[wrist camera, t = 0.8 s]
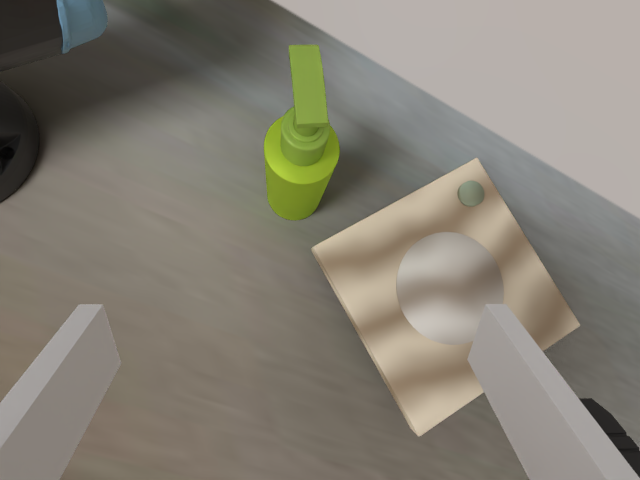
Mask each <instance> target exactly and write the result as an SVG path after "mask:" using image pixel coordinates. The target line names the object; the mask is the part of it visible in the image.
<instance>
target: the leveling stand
mask: <svg viewBox="0 0 640 480" xmlns="http://www.w3.org/2000/svg"><path fill="white" fill-rule="evenodd" d="M311 251H312V252H313V254H314V256H315V258H316V260H317V261H318V263H319V265H320V267H321V268H322V270H323V272H324V274H325V276H326V277H327V279H328V281H329V283H330V285H331V286H332V288H333V290H334V292H335V294H336V295H337V297H338V299H339V301H340V302H341V304H342V306H343V308H344V310H345V311H346V313H347V315H348V317H349V319H350V320H351V322H352V324H353V326H354V328H355V329H356V331H357V333H358V335H359V337H360V338H361V340H362V342H363V344H364V345H365V347H366V349H367V351H368V353H369V354H370V356H371V358H372V360H373V362H374V363H375V365H376V367H377V369H378V371H379V372H380V374H381V376H382V378H383V380H384V381H385V383H386V385H387V387H388V388H389V390H390V392H391V394H392V396H393V397H394V399H395V401H396V403H397V405H398V406H399V408H400V410H401V412H402V414H403V415H404V417H405V419H406V421H407V422H408V424H409V426H410V428H411V430H413V431H414V432H415V433H416V434H417V435H418V436H419V437H420V436H421V435H422V434H424V433H425V432H427V431H428V430H430V429H431V428H433V427H434V426H435V425H437V424H438V423H440V422H441V421H443V420H444V419H446V418H447V417H449V416H450V415H451V414H453V413H454V412H456V411H457V410H459V409H460V408H462V407H463V406H464V405H466V404H467V403H469V402H470V401H472V400H473V399H475V398H476V397H477V396H479V395H480V394H482V393H483V392H484V391H483V389H482V387H481V385H480V383H479V381H478V379H477V377H476V375H475V374H474V372H473V370H472V368H471V366H470V364H469V362H468V360H467V359H468V356H469V353H470V350H471V347H472V344H473V341H474V338H475V335H476V331H477V328H478V325H479V322H480V319H481V316H482V313H483V310H484V307H485V304H507V306H508V307H509V308H510V310H511V311H512V312H513V314H514V315H515V316H516V318H517V319H518V320H519V321H520V323H521V324H522V325H523V327H524V328H525V329H526V331H527V332H528V333H529V334H530V336H531V337H532V338H533V340H534V341H535V342H536V344H537V345H538V346H539V348H540V349H541V350H542V351H544V350H546V349H547V348H548V347H550V346H551V345H553V344H554V343H556V342H557V341H559V340H560V339H561V338H563V337H564V336H566V335H567V334H569V333H570V332H572V331H573V330H574V329H576V328H577V327H579V326H580V324H579V322H578V321H577V319H576V317H575V316H574V314H573V313H572V311H571V309H570V308H569V306H568V304H567V303H566V301H565V300H564V298H563V296H562V295H561V293H560V291H559V290H558V288H557V287H556V285H555V283H554V282H553V280H552V278H551V277H550V275H549V274H548V272H547V270H546V269H545V267H544V265H543V264H542V262H541V261H540V259H539V257H538V256H537V254H536V252H535V251H534V249H533V248H532V246H531V244H530V243H529V241H528V239H527V238H526V236H525V235H524V233H523V231H522V230H521V228H520V226H519V225H518V223H517V222H516V220H515V218H514V217H513V215H512V213H511V212H510V210H509V209H508V207H507V205H506V204H505V202H504V200H503V199H502V197H501V196H500V194H499V192H498V191H497V189H496V187H495V186H494V184H493V183H492V181H491V179H490V178H489V176H488V174H487V173H486V171H485V170H484V168H483V166H482V165H481V163H480V161H479V160H478V158H475V159H473V160H472V161H470V162H468V163H466V164H464V165H462V166H461V167H459V168H457V169H455V170H453V171H451V172H450V173H448V174H446V175H444V176H442V177H440V178H438V179H437V180H435V181H433V182H431V183H429V184H427V185H426V186H424V187H422V188H420V189H418V190H416V191H415V192H413V193H411V194H409V195H407V196H405V197H404V198H402V199H400V200H398V201H396V202H394V203H393V204H391V205H389V206H387V207H385V208H383V209H381V210H380V211H378V212H376V213H374V214H372V215H370V216H369V217H367V218H365V219H363V220H361V221H359V222H358V223H356V224H354V225H352V226H350V227H348V228H347V229H345V230H343V231H341V232H339V233H337V234H336V235H334V236H332V237H330V238H328V239H326V240H324V241H323V242H321V243H319V244H317V245H315V246H313V247H312V249H311Z"/></svg>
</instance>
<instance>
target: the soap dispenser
mask: <svg viewBox="0 0 640 480" xmlns="http://www.w3.org/2000/svg"><path fill="white" fill-rule="evenodd" d="M289 59H290V68H291V78H292V88H293V99H294V107H292V108H290V109H289V110H288V111H287V112H286V113H285V115H284V116H283V117H281V118H279V119H278V120H276V121H275V122H274V123H273V124H272V125H271V127H270V128H269V130H268V132H267V134H266V136H265V140H264V157H265V170H266V183H267V197H268V202H269V204H270V206H271V208H272V209H273V211H274V212H275V213H276V214H277V215H279V216H280V217H282V218H285V219H288V220H301V219H304V218H306V217H308V216H310V215H311V214H312V213H313V212H314V211H315V210H316V208H317V207H318V204H319V202H320V200H321V198H322V195H323V193H324V191H325V189H326V187H327V184H328V182H329V180H330V178H331V175H332V173H333V171H334V169H335V166H336V164H337V162H338V159H339V153H340V147H339V141H338V138H337V135H336V133H335V131H334V130H333V128H332V127H331V126H330V123H329V120H328V115H327V104H326V94H325V84H324V76H323V68H322V61H321V56H320V50H319V45H289Z"/></svg>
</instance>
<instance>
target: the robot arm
mask: <svg viewBox="0 0 640 480" xmlns="http://www.w3.org/2000/svg"><path fill="white" fill-rule="evenodd" d="M107 22H108V18H107V12H106V9H105V6H104V3H103V0H0V71H4V70H7V69H11V68H14V67H17V66H21V65H24V64H27V63H31V62H34V61H38V60H41V59H44V58H48V57H51V56H54V55H58V54H64V53H67V52H68V51H69V50H70V49H71V48H74V47H76V46H79V45H81V44H84V43H86V42H89V41H91V40H94V39H96V38H98V37H99V36H101V35H102V33H103V32H104V31H105V29H106V27H107ZM38 148H39V132H38V126H37V122H36V120H35V117H34V115H33V113H32V111H31V109H30V108H29V106H28V105H27V104H26V102H25V101H24V100H23V99H22V98H21V97H20V96H19V95H18V94H17V93H15V92H14V91H13V90H12V89H10V88H9V87H8V86H7V85H5V84H4V83H3V82H2V81H0V201H2V200H4V199H5V198H6V197H8V196H9V195H10V194H12V193H13V192H14V191H15V190H16V189H17V188H18V187H19V186H20V185H21V184H22V183H23V181H24V180H25V179H26V177H27V176H28V174H29V173H30V171H31V169H32V167H33V165H34V163H35V160H36V157H37V153H38ZM467 360H468V362H469V364H470V366H471V368H472V370H473V372H474V374H475V375H476V377H477V379H478V381H479V383H480V385H481V387H482V389H483V391H484V393H485V395H486V397H487V399H488V401H489V402H490V404H491V406H492V408H493V410H494V412H495V414H496V416H497V418H498V420H499V422H500V424H501V426H502V428H503V430H504V431H505V433H506V435H507V437H508V439H509V441H510V443H511V445H512V447H513V449H514V451H515V453H516V455H517V457H518V458H519V460H520V462H521V464H522V466H523V468H524V470H525V472H526V474H527V476H528V478H529V480H640V451H639V447H638V446H637V445H636V444H635V443H634V441H633V440H632V439H631V438H630V437H628V436H627V435H626V432H625V430H624V429H623V428H622V427H621V425H620V424H619V423H618V422H617V421H616V419H615V418H614V417H613V416H612V415H611V414H610V413H609V412H608V411H607V410H605V409H604V408H603V407H602V406H600V405H599V404H598V403H597V402H595V401H594V400H593V399H592V398H589V399H579V398H578V397H577V396H576V394H575V393H574V392H573V391H572V389H571V388H570V387H569V385H568V384H567V383H566V381H565V380H564V379H563V378H562V376H561V375H560V374H559V372H558V371H557V370H556V368H555V367H554V366H553V364H552V363H551V362H550V361H549V359H548V358H547V357H546V355H545V354H544V353H543V351H542V350H541V349H540V348H539V346H538V345H537V344H536V342H535V341H534V340H533V338H532V337H531V336H530V334H529V333H528V332H527V331H526V329H525V328H524V327H523V325H522V324H521V323H520V321H519V320H518V319H517V318H516V316H515V315H514V314H513V312H512V311H511V310H510V308H509V307H508V306H507V304H485V307H484V310H483V313H482V316H481V319H480V322H479V325H478V328H477V331H476V335H475V338H474V341H473V344H472V347H471V350H470V353H469V356H468V359H467ZM120 365H121V361H120V358H119V355H118V351H117V348H116V345H115V342H114V338H113V335H112V332H111V329H110V325H109V322H108V319H107V315H106V312H105V309H104V306H103V304H79V305H78V306H77V308H76V309H75V310H74V311H73V313H72V314H71V315H70V316H69V318H68V319H67V320H66V321H65V323H64V324H63V325H62V326H61V328H60V329H59V330H58V331H57V333H56V334H55V335H54V336H53V338H52V339H51V340H50V341H49V343H48V344H47V345H46V346H45V348H44V349H43V350H42V351H41V353H40V354H39V355H38V356H37V358H36V359H35V360H34V361H33V363H32V364H31V365H30V366H29V368H28V369H27V370H26V371H25V373H24V374H23V375H22V376H21V378H20V379H19V380H18V381H17V383H16V384H15V385H14V386H13V388H12V389H11V390H10V391H9V393H8V394H7V395H6V396H5V398H4V399H3V400H2V401H1V403H0V480H60V478H61V476H62V474H63V472H64V470H65V468H66V466H67V464H68V463H69V461H70V459H71V457H72V455H73V453H74V451H75V449H76V448H77V446H78V444H79V442H80V440H81V438H82V436H83V434H84V432H85V431H86V429H87V427H88V425H89V423H90V421H91V419H92V417H93V416H94V414H95V412H96V410H97V408H98V406H99V404H100V402H101V400H102V399H103V397H104V395H105V393H106V391H107V389H108V387H109V385H110V384H111V382H112V380H113V378H114V376H115V374H116V372H117V370H118V368H119V367H120Z"/></svg>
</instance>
